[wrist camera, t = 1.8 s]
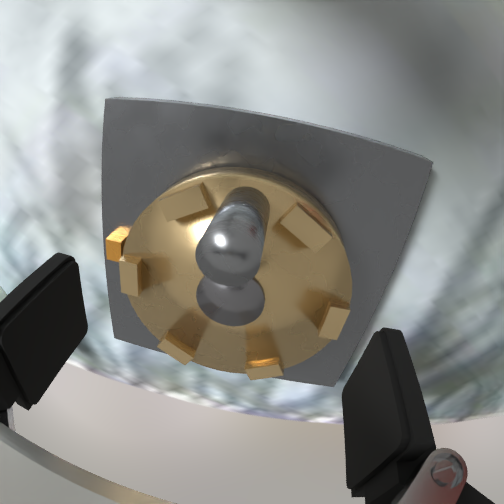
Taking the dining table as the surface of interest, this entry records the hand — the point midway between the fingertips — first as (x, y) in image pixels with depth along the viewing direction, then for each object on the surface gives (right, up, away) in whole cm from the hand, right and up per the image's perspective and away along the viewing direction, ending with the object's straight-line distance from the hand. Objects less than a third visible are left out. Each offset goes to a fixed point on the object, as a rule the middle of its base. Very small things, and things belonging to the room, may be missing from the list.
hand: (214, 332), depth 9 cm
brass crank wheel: (0, +1, +12) cm, 12 cm away
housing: (0, +2, +13) cm, 14 cm away
